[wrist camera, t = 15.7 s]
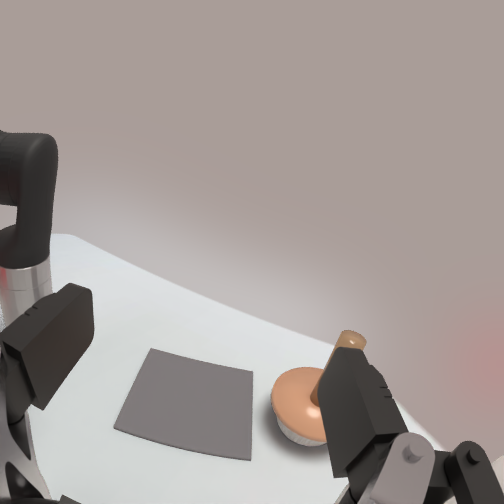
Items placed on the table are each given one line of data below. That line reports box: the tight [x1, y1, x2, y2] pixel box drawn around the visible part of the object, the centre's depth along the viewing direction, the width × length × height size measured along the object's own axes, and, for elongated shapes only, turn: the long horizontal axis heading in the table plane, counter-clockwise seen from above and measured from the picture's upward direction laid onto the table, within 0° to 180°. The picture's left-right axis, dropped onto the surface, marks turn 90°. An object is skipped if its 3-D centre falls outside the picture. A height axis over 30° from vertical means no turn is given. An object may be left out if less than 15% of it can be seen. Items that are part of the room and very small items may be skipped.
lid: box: [271, 330, 366, 442], centre depth 33 cm, size 14×14×12 cm
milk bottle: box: [444, 455, 504, 504], centre depth 13 cm, size 8×8×20 cm
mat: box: [114, 348, 253, 461], centre depth 37 cm, size 18×18×1 cm
